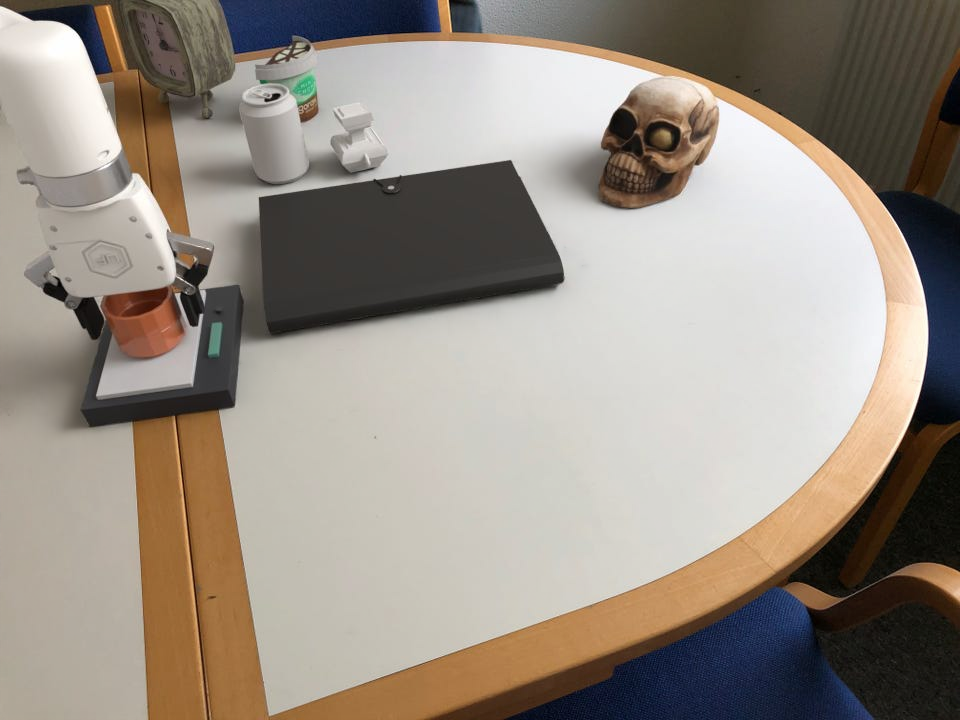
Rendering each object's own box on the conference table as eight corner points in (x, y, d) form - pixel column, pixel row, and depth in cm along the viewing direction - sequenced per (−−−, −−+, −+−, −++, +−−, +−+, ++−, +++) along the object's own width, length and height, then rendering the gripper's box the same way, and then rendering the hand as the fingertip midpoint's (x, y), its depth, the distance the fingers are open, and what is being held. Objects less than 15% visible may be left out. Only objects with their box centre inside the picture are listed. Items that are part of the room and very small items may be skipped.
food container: (303, 134, 120) (290, 70, 113) (268, 129, 122) (253, 66, 115) (339, 99, 129) (329, 37, 122) (305, 95, 130) (293, 34, 123)
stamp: (393, 173, 111) (386, 117, 105) (347, 184, 109) (338, 128, 103) (374, 145, 117) (366, 90, 111) (330, 155, 115) (320, 100, 109)
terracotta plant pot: (114, 365, 79) (94, 323, 75) (125, 322, 84) (107, 280, 80) (184, 356, 80) (167, 314, 76) (191, 313, 85) (175, 272, 81)
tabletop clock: (149, 104, 130) (93, -63, 113) (192, 84, 135) (145, -79, 118) (208, 125, 124) (158, -48, 107) (251, 103, 129) (210, -66, 112)
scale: (89, 427, 77) (77, 405, 75) (118, 317, 90) (108, 296, 88) (235, 407, 79) (227, 385, 77) (244, 301, 91) (237, 280, 89)
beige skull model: (599, 207, 102) (610, 104, 94) (593, 154, 116) (602, 61, 108) (722, 212, 101) (744, 109, 93) (701, 158, 115) (719, 64, 107)
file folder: (510, 156, 105) (564, 263, 88) (510, 183, 108) (563, 292, 91) (257, 193, 100) (263, 314, 83) (264, 221, 103) (271, 342, 86)
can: (293, 190, 108) (274, 107, 100) (246, 182, 110) (224, 100, 102) (319, 164, 113) (304, 83, 105) (274, 157, 116) (255, 76, 107)
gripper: (-33, 209, 65) (51, 360, 77) (181, 185, 67) (231, 337, 79) (-8, 164, 71) (67, 312, 83) (190, 143, 72) (236, 291, 84)
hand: (147, 324), depth 81 cm, fingers open, 9 cm apart
